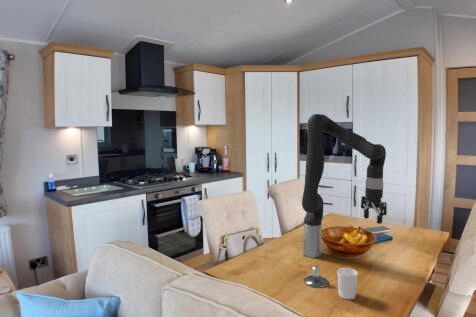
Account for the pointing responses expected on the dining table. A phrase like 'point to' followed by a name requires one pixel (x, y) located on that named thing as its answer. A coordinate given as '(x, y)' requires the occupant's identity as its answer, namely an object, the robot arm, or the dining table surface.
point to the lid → (316, 279)
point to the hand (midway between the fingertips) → (372, 220)
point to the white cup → (347, 283)
